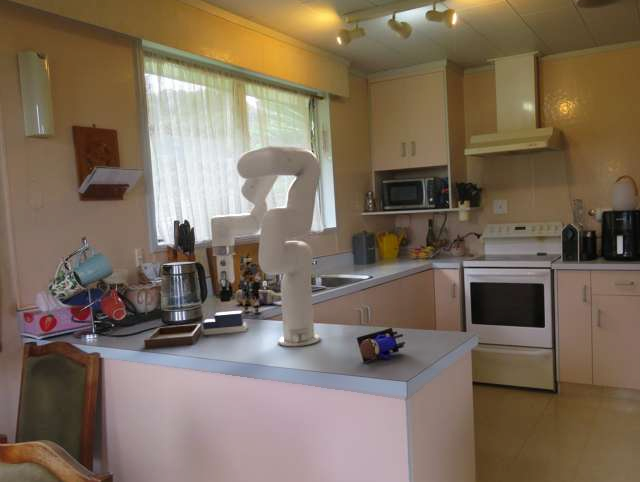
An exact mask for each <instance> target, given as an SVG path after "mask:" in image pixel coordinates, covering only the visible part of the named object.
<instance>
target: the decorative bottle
mask: <svg viewBox="0 0 640 482" xmlns="http://www.w3.org/2000/svg"><path fill="white" fill-rule="evenodd" d="M250 291H251V290H250ZM258 291H259V299H258V301H259V302H260V305H266V306H269V305H273V304H274V303H278V302H281V293H278V292H277V293H276V292H275V291H274V290H272V289H271V290H269V289H259V290H258ZM244 293H245V292H244ZM252 294H253V293H252ZM234 297H235V302H236V303H237V304H239V305H243V302H242V301H243V300H245V298H243V295H242V290H240V289H238V290H237V291H236V292H235V295H234ZM248 297H249V296H248ZM248 300H249V301H250V305H251V302H254V301H255V300H253V299H252V298H251V296H250V298H249V299H248ZM246 304H249V303H246Z"/></svg>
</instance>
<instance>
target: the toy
mask: <svg viewBox="0 0 640 482" xmlns="http://www.w3.org/2000/svg"><path fill="white" fill-rule="evenodd" d="M252 259H253V257H250V253H248V252H247V255H246V257H244V256H240V261H239V264H241V265H239V268H238V272H239V274H241V275H240V279H241V280H240V281H239V284H238V285H237V287H238V290H242V295H243V298H245V300H243V301H242V302H243V303H242V307H243V310H242V312H243V314H249V313H253V314H252V316H254V315H260V314H263V311H259V310H260V309H261V308H262V306H261V304H260V302H259V301H258V299H259V291H258V290H261V282H260V281H261V279H262V278H261V277H262V276H259V274H260V273H261V272H260V270H259V268H260V266H259V262H256V261H252ZM250 290H251V291H250ZM244 292H245V293H244ZM252 293H253V294H252ZM248 296H249V297H248ZM250 296H251V298H252V299H253V300H255V301H254V302H251V304H250V301H249V300H248V299H249V298H250ZM246 303H249V304H246ZM250 307H252V309H253V310H249V308H250Z"/></svg>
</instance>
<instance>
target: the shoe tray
mask: <svg viewBox="0 0 640 482" xmlns="http://www.w3.org/2000/svg"><path fill="white" fill-rule="evenodd" d="M202 332H203V330H202V323H195V324H183V325H170V326H161V327H159V326H158V327H157V328H156V329H155V330H153V332H152V333H151V334H149V335H148V336H147V337H146V338H145V339H144V341H143V342H144V343H143V344H144V349H145V350H147V349H157V348H158V349H159V348H169V347H180V346H190V345H194V344H195V342H196V341H197V339H198V338H199V336H200V335H201V333H202Z"/></svg>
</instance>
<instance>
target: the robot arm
mask: <svg viewBox="0 0 640 482" xmlns="http://www.w3.org/2000/svg"><path fill="white" fill-rule="evenodd" d="M236 170H237V173H238V175H239V176H240V177H241V178H242V179H243V180H244V181H243V184H242V186H241V188H240V192H241V195H242V196H243V197H244V199H245V200H246V201H248V202H249V203H252V204H253V206H252V207H251V209H250V211H249V213H238V214H237V213H236V214H226V215H214V216H212V217H211V218H210V229H211V230H210V231H211V244H212V245H211V246H212V256H213V257H215V258H216V272H217V282H218V284H219V289H220V290H219V299H220V302H221V303H228V302H231V298H233V296H234V292H233V291H234V290H233V284H234V282H235V280H236V276H235V266H234V258H233V256H235V255H236V245H235V238H237V237H248V236H253V235H255V234H257V233H258V232H259V231H260V234H259V235H260V236H259V245H258V255H257V256H258V258H257V260H258V264H259V268H260V270H261V271H262V272H263V273H264V274H265V275H268V276H277V275H282V278H281V282H280V294H281V301H280V302H281V316H282V318H281V319H282V331H283V333H282V334H283V336H281V337H280V338H279V339H278V344H279V345H281V346H284V347H303V346H308V345H313V344H316V343H318V342H319V341H320V335H318V334H316V333H315V324H314V306H313V293H312V292H313V290H312V288H313V287H312V269H313V261H314V255H313V251H312V247H311V245H309V244H308V243H306V242H305V241H302V240H291V239H297V238H298V239H299V238H304V237H307V236H308V235H309V234H310V233H311V231H312V227H313V221H314V213H315V205H316V198H317V197H316V196H317V191H318V186H319V184H320V179H321V164H320V161H319V159H318V157H317V156H316V155H315V154H314V153H313V152H312V151H311V150H308V149H306V148H301V147H293V146H279V145H269V146H263V147H259V148H256V149H252V150H248V151H245V152H244V153H242V154H241V155H240V157H239V158H238V160H237V163H236ZM279 176H288V177H289V176H294V177H295V178H294V179H293V181H292V182H291V184H290V185H289V187H288V189H287V193H286V201H285V202H286V203H285V205H284V206H278V207H277V206H276V207H272V208H269V210H268V203H267V201H266V199H267V197H268V195H269V194H270V192H271V190H272V188H273V186H274V185H275V183H276V182H277V179H278V178H279ZM289 239H290V240H289ZM286 240H287V241H286Z"/></svg>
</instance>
